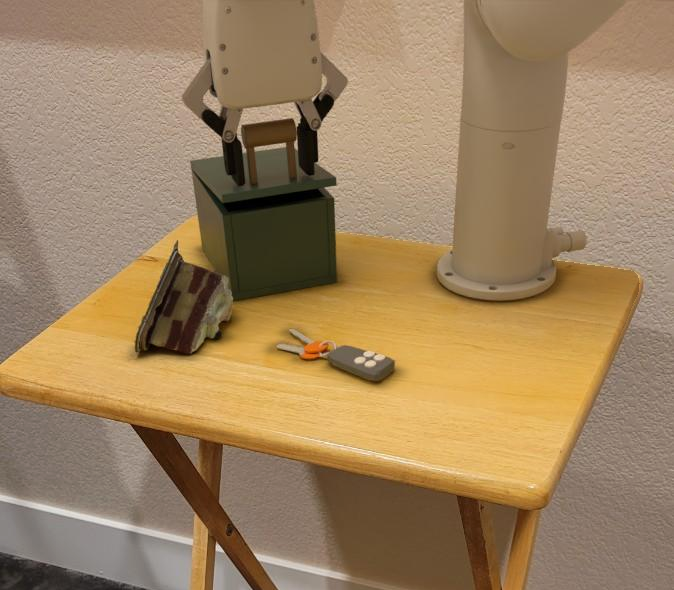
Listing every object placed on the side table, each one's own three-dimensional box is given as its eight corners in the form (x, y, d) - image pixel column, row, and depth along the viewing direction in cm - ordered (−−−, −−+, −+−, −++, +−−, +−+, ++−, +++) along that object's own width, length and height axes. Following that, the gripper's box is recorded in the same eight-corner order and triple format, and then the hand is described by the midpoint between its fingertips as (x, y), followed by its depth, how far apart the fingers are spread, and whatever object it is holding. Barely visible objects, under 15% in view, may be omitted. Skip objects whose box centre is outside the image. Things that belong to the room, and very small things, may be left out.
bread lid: (336, 185, 87) (333, 117, 83) (222, 203, 84) (213, 134, 81) (292, 153, 99) (287, 93, 95) (191, 168, 96) (181, 106, 92)
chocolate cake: (201, 372, 82) (242, 249, 82) (129, 347, 82) (170, 224, 82) (213, 392, 92) (249, 282, 92) (148, 370, 92) (185, 259, 91)
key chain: (399, 369, 81) (399, 354, 80) (375, 386, 79) (375, 371, 78) (291, 331, 87) (290, 317, 86) (266, 346, 85) (265, 332, 84)
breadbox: (337, 282, 95) (334, 197, 89) (232, 301, 92) (222, 215, 86) (297, 233, 105) (292, 154, 99) (202, 249, 102) (191, 168, 96)
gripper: (337, -62, 79) (343, 153, 91) (146, -45, 75) (178, 177, 88) (367, -50, 74) (368, 176, 86) (162, -31, 70) (195, 202, 82)
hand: (272, 174), depth 87 cm, fingers open, 6 cm apart
